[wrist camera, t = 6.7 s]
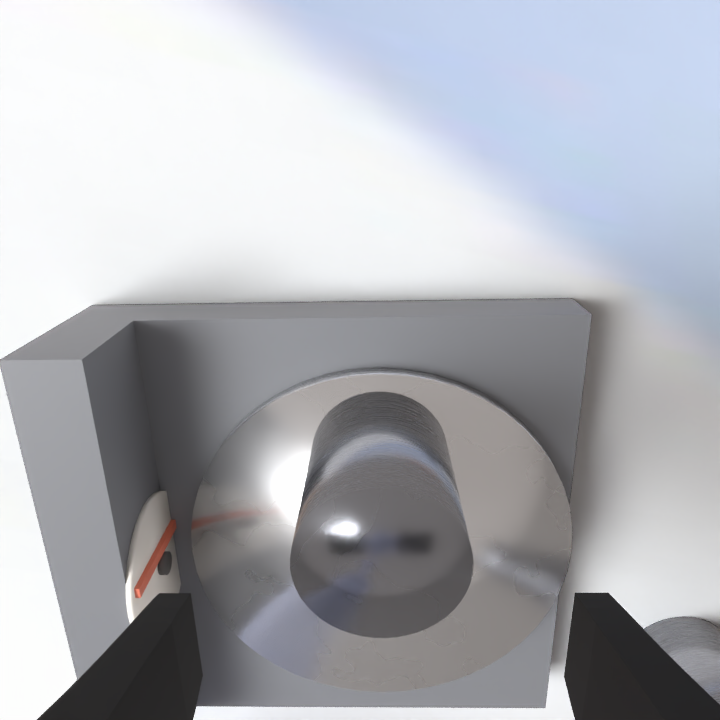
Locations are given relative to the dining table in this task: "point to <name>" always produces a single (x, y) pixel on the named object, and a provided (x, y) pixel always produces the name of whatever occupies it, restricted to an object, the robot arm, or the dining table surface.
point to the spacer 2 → (692, 649)
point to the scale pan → (480, 508)
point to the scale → (217, 420)
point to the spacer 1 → (380, 520)
